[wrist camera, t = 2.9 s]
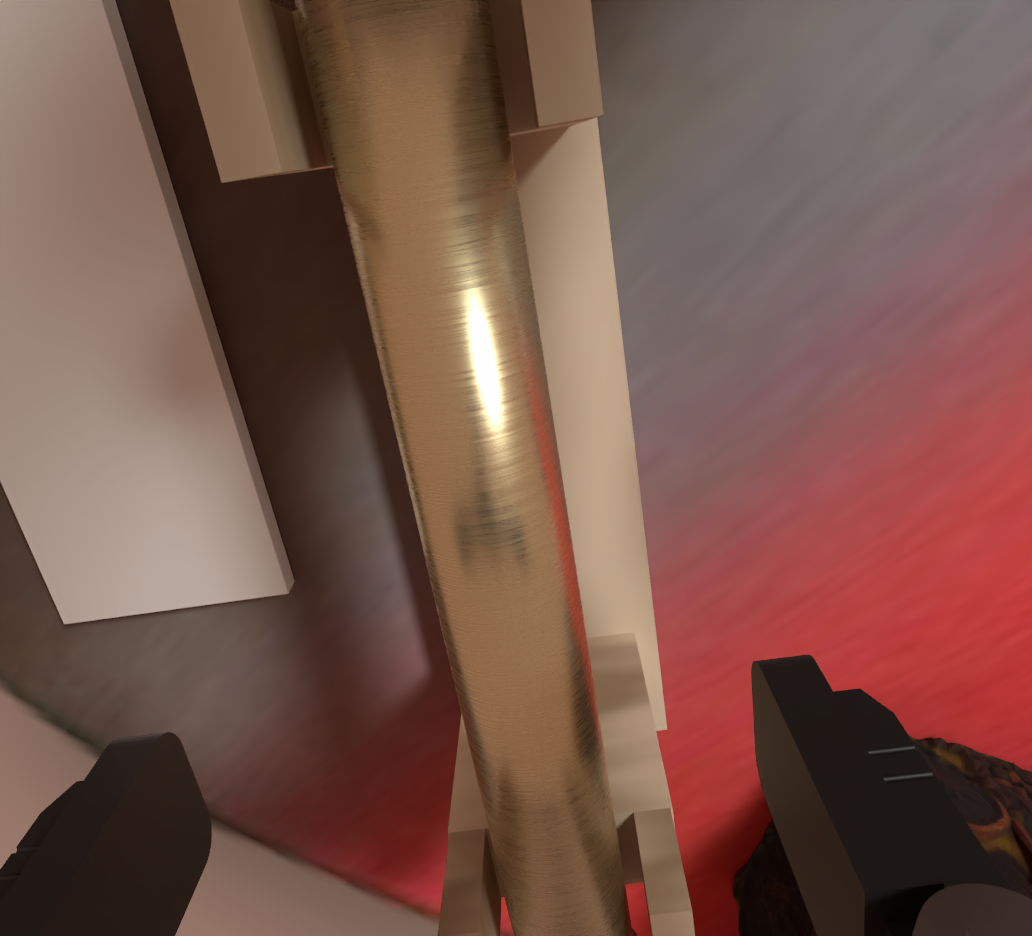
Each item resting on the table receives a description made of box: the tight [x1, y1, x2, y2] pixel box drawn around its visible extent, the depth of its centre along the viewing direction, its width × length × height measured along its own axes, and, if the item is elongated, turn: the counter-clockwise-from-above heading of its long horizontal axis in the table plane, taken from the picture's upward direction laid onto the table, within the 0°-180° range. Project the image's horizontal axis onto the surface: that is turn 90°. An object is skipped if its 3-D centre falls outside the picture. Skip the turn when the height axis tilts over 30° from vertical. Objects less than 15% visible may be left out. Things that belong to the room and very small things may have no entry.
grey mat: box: [0, 0, 295, 624], centre depth 24 cm, size 8×21×1 cm, turn 9°
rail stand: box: [169, 0, 695, 936], centre depth 20 cm, size 7×24×12 cm, turn 9°
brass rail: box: [294, 0, 637, 936], centre depth 15 cm, size 24×3×3 cm, turn 9°
